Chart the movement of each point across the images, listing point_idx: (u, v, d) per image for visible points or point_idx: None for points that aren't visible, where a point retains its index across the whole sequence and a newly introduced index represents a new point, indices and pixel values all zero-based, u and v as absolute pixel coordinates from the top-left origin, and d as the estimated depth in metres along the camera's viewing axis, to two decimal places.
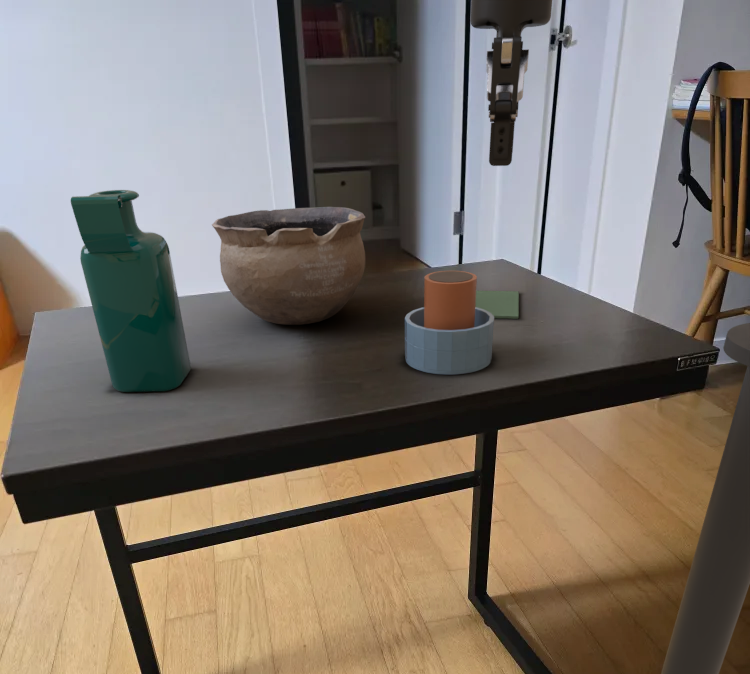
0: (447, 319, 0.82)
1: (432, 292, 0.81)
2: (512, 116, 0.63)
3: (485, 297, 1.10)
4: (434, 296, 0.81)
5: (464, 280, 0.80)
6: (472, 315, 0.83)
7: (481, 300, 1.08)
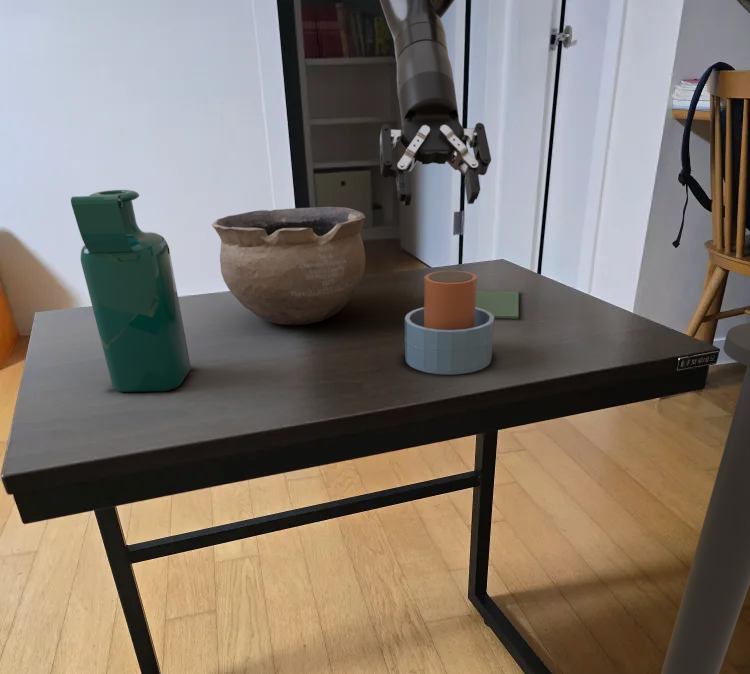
0: (447, 319, 0.82)
1: (432, 292, 0.81)
2: (397, 168, 0.86)
3: (485, 297, 1.10)
4: (434, 296, 0.81)
5: (464, 280, 0.80)
6: (472, 315, 0.83)
7: (481, 300, 1.08)
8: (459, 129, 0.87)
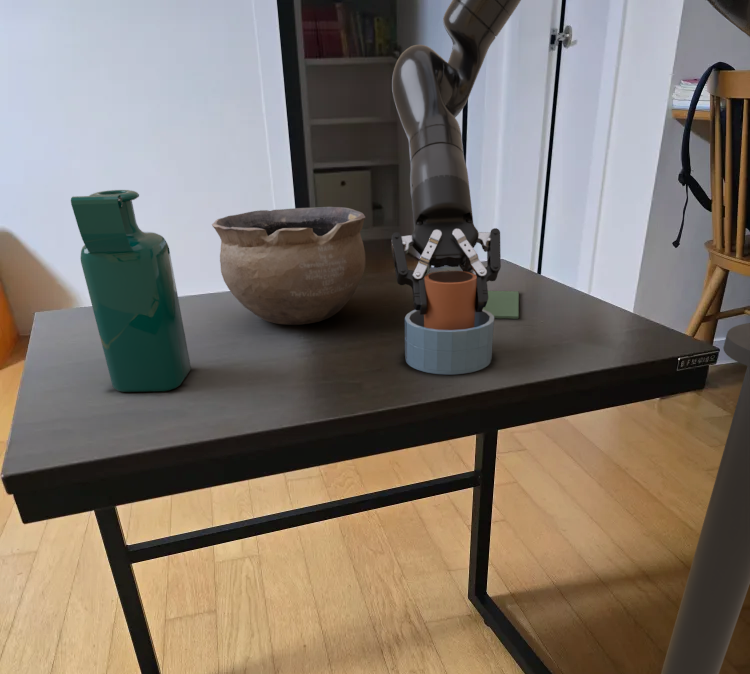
0: (447, 319, 0.82)
1: (432, 292, 0.81)
2: (413, 277, 0.82)
3: None
4: (434, 296, 0.81)
5: (464, 280, 0.80)
6: (472, 315, 0.83)
7: None
8: (473, 232, 0.84)
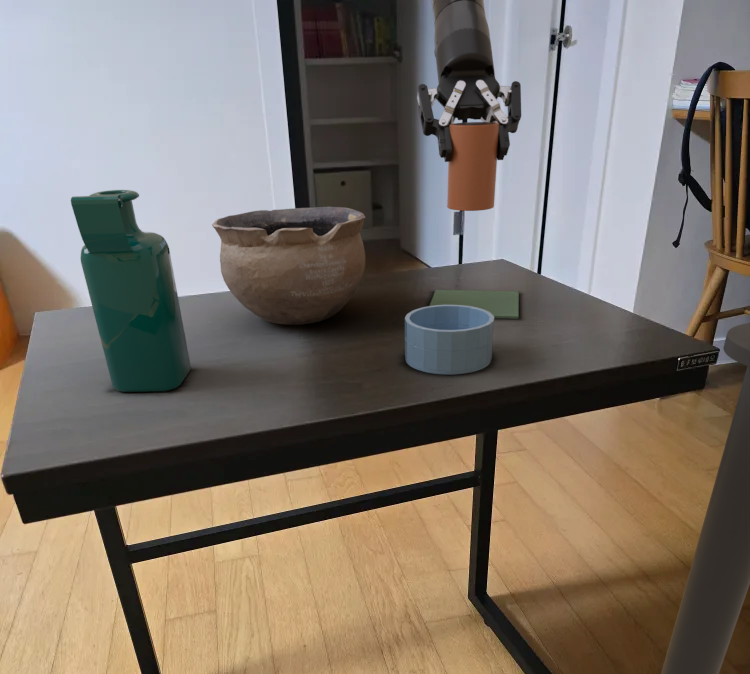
0: (471, 163, 0.86)
1: (457, 136, 0.86)
2: (439, 125, 0.87)
3: (485, 297, 1.10)
4: (459, 140, 0.86)
5: (487, 124, 0.85)
6: (494, 161, 0.88)
7: (481, 300, 1.08)
8: (495, 85, 0.89)
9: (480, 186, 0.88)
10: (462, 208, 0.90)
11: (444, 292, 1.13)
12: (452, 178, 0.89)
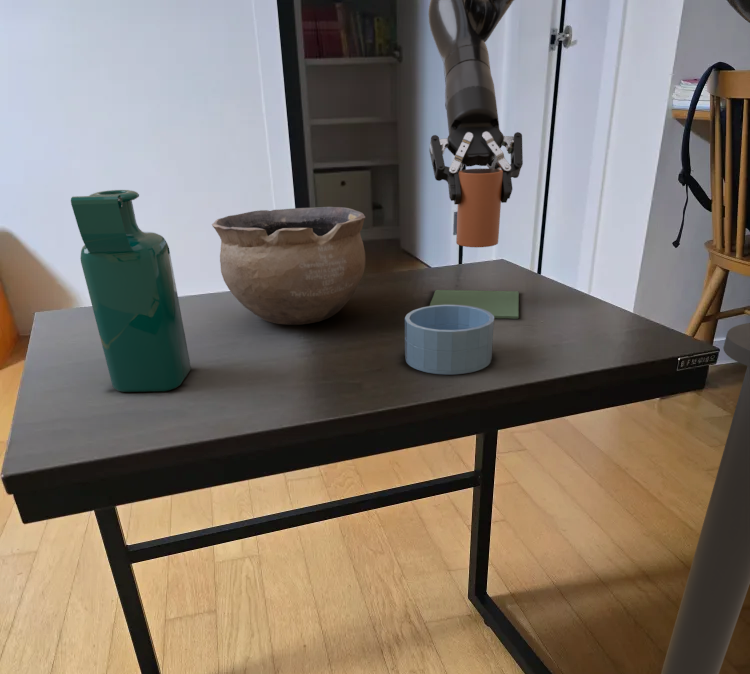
0: (478, 206, 0.97)
1: (466, 182, 0.97)
2: (449, 172, 0.98)
3: (485, 297, 1.10)
4: (467, 186, 0.97)
5: (492, 172, 0.96)
6: (498, 204, 0.99)
7: (481, 300, 1.08)
8: (499, 135, 1.00)
9: (485, 226, 0.99)
10: (470, 245, 1.01)
11: (444, 292, 1.13)
12: (460, 218, 1.00)
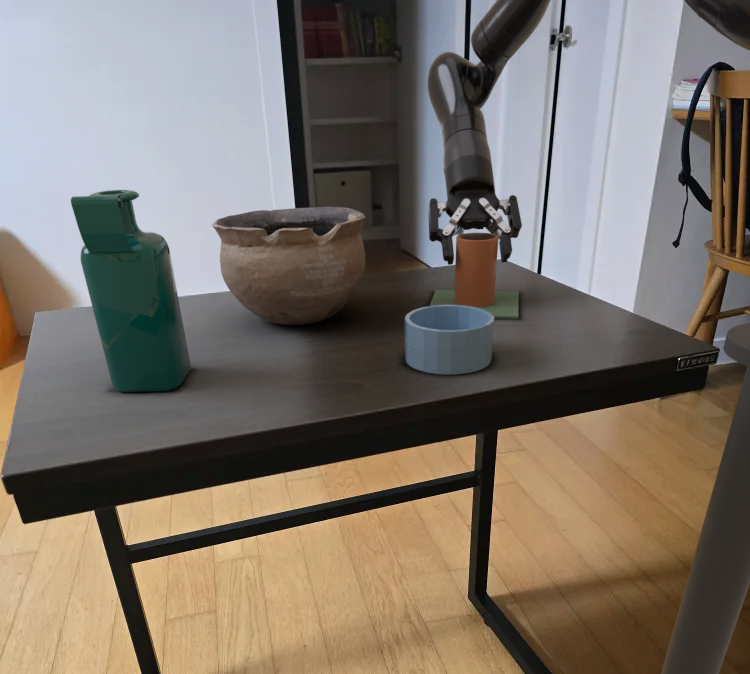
0: (474, 270, 1.02)
1: (463, 248, 1.01)
2: (442, 234, 1.03)
3: None
4: (465, 251, 1.01)
5: (488, 238, 1.01)
6: (494, 267, 1.03)
7: None
8: (495, 201, 1.04)
9: (482, 288, 1.04)
10: (467, 305, 1.05)
11: (444, 292, 1.13)
12: (458, 280, 1.05)
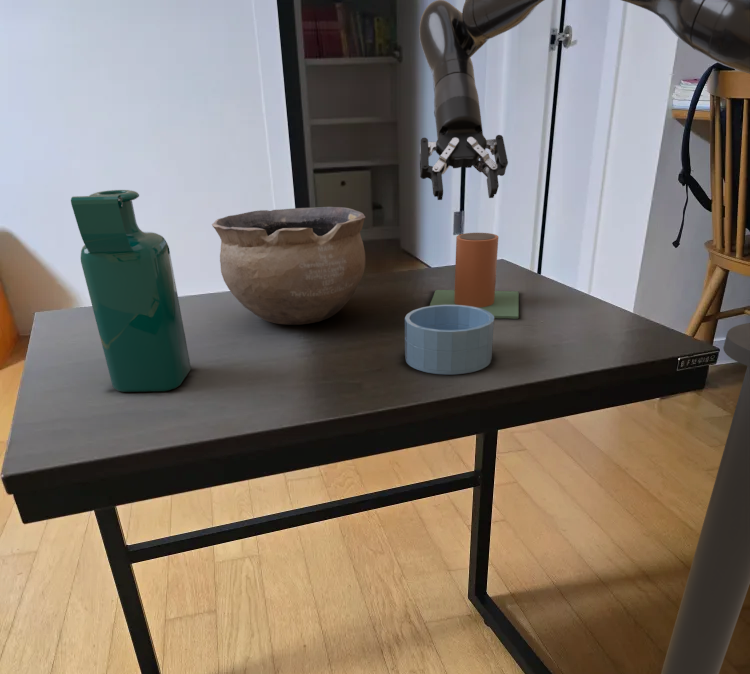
0: (474, 270, 1.02)
1: (463, 248, 1.01)
2: (432, 170, 1.09)
3: None
4: (465, 251, 1.01)
5: (488, 238, 1.01)
6: (494, 267, 1.03)
7: None
8: (482, 140, 1.10)
9: (482, 288, 1.04)
10: (467, 305, 1.05)
11: (444, 292, 1.13)
12: (458, 280, 1.05)
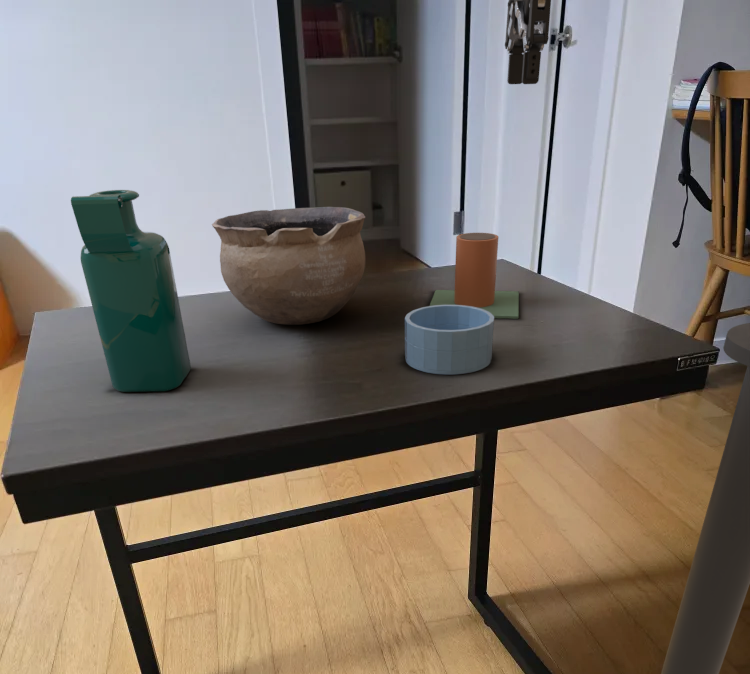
0: (474, 270, 1.02)
1: (463, 248, 1.01)
2: (541, 46, 0.89)
3: None
4: (465, 251, 1.01)
5: (488, 238, 1.01)
6: (494, 267, 1.03)
7: None
8: None
9: (482, 288, 1.04)
10: (467, 305, 1.05)
11: (444, 292, 1.13)
12: (458, 280, 1.05)
